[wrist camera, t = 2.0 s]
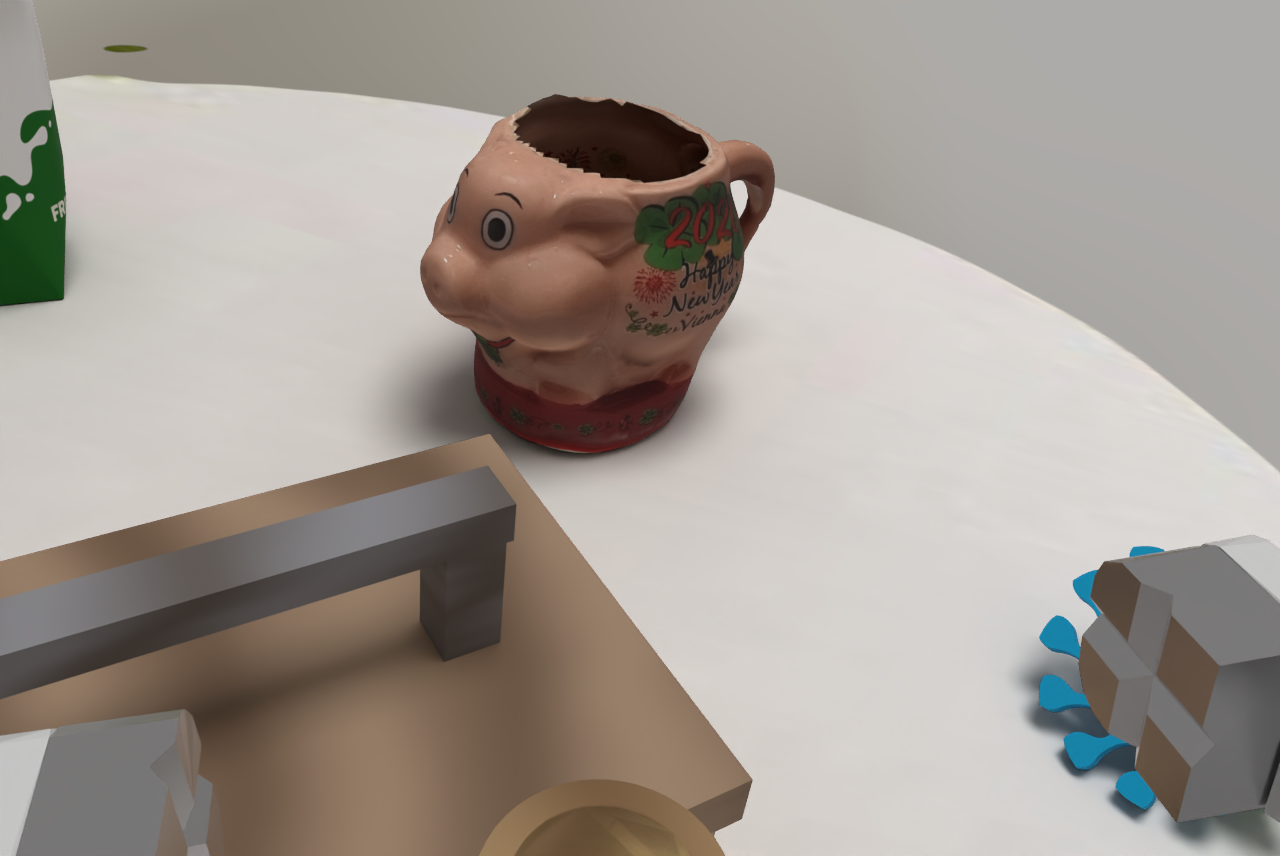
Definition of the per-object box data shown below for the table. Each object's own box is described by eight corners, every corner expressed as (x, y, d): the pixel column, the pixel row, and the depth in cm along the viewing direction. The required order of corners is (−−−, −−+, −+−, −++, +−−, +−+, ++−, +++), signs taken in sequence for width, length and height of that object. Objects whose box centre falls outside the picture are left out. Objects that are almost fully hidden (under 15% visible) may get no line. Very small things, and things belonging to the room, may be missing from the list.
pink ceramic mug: (652, 278, 71) (684, 45, 63) (813, 377, 65) (873, 132, 57) (363, 397, 59) (356, 128, 51) (528, 532, 53) (550, 251, 44)
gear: (978, 651, 48) (1182, 485, 46) (1011, 677, 53) (1197, 526, 51) (1185, 901, 42) (1428, 719, 40) (1202, 903, 47) (1419, 741, 45)
